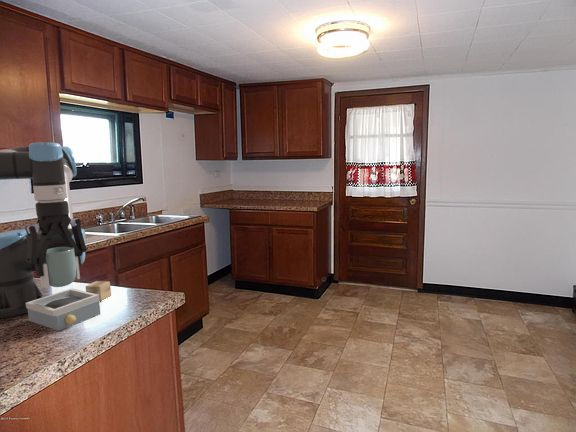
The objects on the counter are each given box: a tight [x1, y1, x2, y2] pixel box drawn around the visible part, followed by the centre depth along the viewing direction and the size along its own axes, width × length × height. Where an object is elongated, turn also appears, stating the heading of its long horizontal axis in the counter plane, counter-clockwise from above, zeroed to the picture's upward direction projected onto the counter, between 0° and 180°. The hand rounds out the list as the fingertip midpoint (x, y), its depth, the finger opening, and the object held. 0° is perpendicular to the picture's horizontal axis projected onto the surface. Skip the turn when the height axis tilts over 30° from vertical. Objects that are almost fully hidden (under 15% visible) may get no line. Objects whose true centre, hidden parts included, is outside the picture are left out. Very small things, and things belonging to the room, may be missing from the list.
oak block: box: [85, 280, 112, 302], centre depth 123 cm, size 5×5×5 cm
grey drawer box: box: [26, 288, 101, 331], centre depth 108 cm, size 15×13×6 cm
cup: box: [44, 247, 76, 288], centre depth 106 cm, size 8×8×10 cm
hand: (61, 282), depth 107 cm, fingers closed on cup, 8 cm apart
